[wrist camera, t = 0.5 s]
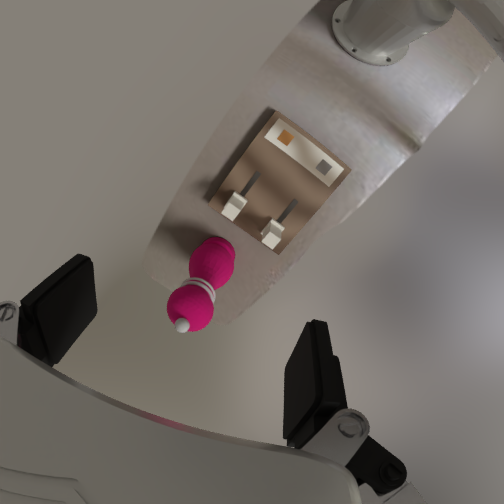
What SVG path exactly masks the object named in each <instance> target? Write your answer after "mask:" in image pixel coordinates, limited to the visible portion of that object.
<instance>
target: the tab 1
mask: <svg viewBox="0 0 504 504" xmlns="http://www.w3.org/2000/svg"><path fill="white" fill-rule="evenodd" d="M247 201H248V200H247V199H246V198H244V197H243V196H241V195H240V194H238V193H237V192H236V191H235V192H234V193H233V195H232V196H231V198H230V199H229V200H228V202H227V203H226V205H225V206H224V210H223V211H222V213H221V214H223V215H224V216H226V217H227V218H229V219H230V220H231V221H233V220H234V219H235V218H236V216H237V215H238V214H239V212H240V211H241V209H242V208H243V207H244V205H245V204H246V203H247Z"/></svg>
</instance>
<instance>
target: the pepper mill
mask: <svg viewBox="0 0 504 504" xmlns="http://www.w3.org/2000/svg"><path fill="white" fill-rule="evenodd" d="M234 259H235V251H234V248H233V247H232V245H231V244H230V243H229V242H228V241H227V240H225V239H223V238H219V237H212V238H209V239H207V240H205V241H204V242H203V244H202V245H201V246H199V247H198V248H197V249H195V251H194V252H193V254H192V256H191V258H190V261H189V273H190V278H188V279H186V280H185V281H184V282H183V283H182V285H181V286H180V288H178V289H176V290H175V291H174V292H173V293H172V294H171V295H170V297H169V300H168V303H167V313H168V316H169V318H170V320H171V321H172V322H173V324H174V325H175V328H176V330H178V332H182V333H184V332H186V331H192V332H193V331H198V330H201V329H202V328H204V327H206V325H208V323H209V322H210V321H211V319H212V316H213V310H214V307H213V303H214V300H215V290H216V289H218V288H219V287H221V286H223V285H224V284H225V283H226V282H227V281H228V280H229V279H230V277H231V275H232V273H233V270H234Z"/></svg>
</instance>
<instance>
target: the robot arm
mask: <svg viewBox="0 0 504 504" xmlns="http://www.w3.org/2000/svg"><path fill="white" fill-rule="evenodd" d="M455 7H456V8H457V9H458V10H459V11H460V12H461V13H462V14H463V15H464V16H465V17H466V18H467V19H468V20H469V21H470V22H471V23H472V24H473V25H474V26H475V28H476V29H477V30H478V31H479V32H480V33H481V34H482V36H483V37H484V38H485V39H486V40H487V42H488V43H489V44H490V45H491V47H492V48H493V49H494V50H495V51H496V53H497V54H498V55H499V57H500V58H501V59H502V60H503V62H504V0H347V1H345V2H343V3H341V4H340V5H339V6H338V7H337V8H336V10H335V12H334V14H333V17H332V29H333V33H334V35H335V37H336V39H337V41H338V42H339V44H340V45H341V46H342V47H343V48H344V50H345V51H346V52H348V53H349V54H350V55H351V56H353V57H355V58H356V59H358V60H360V61H362V62H364V63H367V64H371V65H375V66H388V65H391V64H394V63H396V62H398V61H400V60H401V59H403V57H404V56H405V55H406V53H407V51H408V49H409V44H410V43H411V42H413V41H415V40H417V39H419V38H420V37H422V36H424V35H426V34H428V33H430V32H432V31H434V30H436V29H438V28H439V27H441V26H443V25H445V24H446V23H447V22H448V21H449V20H450V19H451V17H452V15H453V12H454V9H455ZM336 21H337V22H338V23H337V22H336ZM352 50H354V52H352ZM386 60H388V62H387V61H386ZM20 302H21V306H20V307H18V305H17V304H16V303H15V302H12V301H4V302H1V303H0V504H427V503H426V501H424V499H423V498H422V496H421V495H420V494H419V492H418V491H417V489H416V488H415V487H414V485H413V484H412V483H411V482H410V483H407V482H406V477H407V471H406V467H405V466H404V464H403V463H402V462H401V461H400V460H399V459H398V458H397V457H395V456H394V455H392V454H391V453H390V452H388V450H386V449H385V448H384V447H382V446H381V445H380V444H379V443H377V442H376V441H375V440H374V439H372V438H371V437H370V436H369V435H368V434H369V430H370V426H369V422H368V420H367V419H366V417H365V416H364V415H363V414H362V413H361V412H359V411H357V410H354V409H348V407H347V401H346V395H345V389H344V383H343V378H342V372H341V367H340V362H339V358H338V357H337V356H335V355H333V351H332V346H331V341H330V335H329V330H328V325H327V322H324V321H319V320H315V319H313V320H312V321H311V322H307V323H306V325H305V327H304V329H303V331H302V333H301V335H300V338H299V340H298V342H297V344H296V346H295V348H294V350H293V352H292V354H291V356H290V358H289V360H288V362H287V364H286V367H285V373H284V374H285V375H284V376H285V378H284V419H283V438H284V439H287V446H288V447H285V446H279V445H274V444H269V443H263V442H256V441H251V440H246V439H241V438H236V437H232V436H227V435H223V434H219V433H214V432H210V431H206V430H202V429H198V428H194V427H191V426H187V425H184V424H181V423H178V422H174V421H171V420H168V419H165V418H162V417H159V416H156V415H153V414H151V413H148V412H145V411H142V410H140V409H137V408H135V407H131V406H129V405H127V404H124V403H122V402H120V401H117V400H115V399H113V398H110V397H108V396H106V395H104V394H101V393H100V392H97V391H95V390H93V389H91V388H89V387H87V386H85V385H83V384H81V383H79V382H77V381H75V380H73V379H71V378H69V377H68V376H66V375H64V374H62V373H61V372H59V371H57V370H55V369H54V368H52V367H53V365H54V364H57V363H59V361H60V360H61V359H62V357H63V356H64V355H65V353H66V352H67V351H68V350H69V348H70V347H71V346H72V344H73V343H74V342H75V341H76V339H77V338H78V337H79V336H80V334H81V333H82V332H83V331H84V329H85V328H86V327H87V326H88V325H89V323H90V322H91V321H92V320H93V319H94V317H95V316H96V314H97V302H96V292H95V283H94V268H93V262H92V261H91V259H90V258H89V257H87V256H84V255H82V254H77V255H75V256H74V257H73V258H71V259H70V260H69V261H68V262H66V263H65V264H64V265H62V266H61V267H60V268H59V269H57V270H56V271H55V272H54V273H52V274H51V275H50V276H49V277H47V278H46V279H45V280H44V281H43V282H41V283H40V284H39V285H38V286H37V287H35V288H34V289H33V290H32V291H31V292H30V293H28V294H27V295H26V296H25V297H24V298H23V299H22V300H21V301H20ZM291 447H295V448H291Z"/></svg>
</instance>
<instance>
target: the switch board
mask: <svg viewBox="0 0 504 504" xmlns="http://www.w3.org/2000/svg"><path fill="white" fill-rule="evenodd" d="M350 172H351V169H350V168H349V167H348V166H347V165H346V164H345V163H343V162H342V161H341V160H340V159H339V158H338V157H336V156H335V155H334V154H333V153H332V152H330V151H329V150H328V149H327V148H326V147H324V146H323V145H322V144H321V143H319V142H318V141H317V140H316V139H314V138H313V137H312V136H310V135H309V134H308V133H307V132H305V131H304V130H303V129H301V128H300V127H299V126H297V125H296V124H295V123H293V122H292V121H291V120H289V119H288V118H286V117H285V116H284V115H282V114H281V113H279V112H278V111H275V113H274V114H273V115H272V116H271V118H270V119H269V120H268V122H267V123H266V124H265V125H264V127H263V128H262V129H261V131H260V132H259V133H258V135H257V136H256V137H255V139H254V140H253V141H252V143H251V144H250V145H249V147H248V148H247V149H246V151H245V152H244V154H243V155H242V156H241V158H240V159H239V160H238V162H237V163H236V165H235V166H234V167H233V169H232V170H231V172H230V173H229V175H228V176H227V177H226V179H225V180H224V182H223V183H222V185H221V186H220V187H219V189H218V190H217V192H216V193H215V195H214V196H213V198H212V199H211V201H210V202H209V204H208V205H209V206H210V207H211V208H213V209H214V210H216V211H217V212H219V213H220V214H221V213H222V211H223V210H224V206H225V205H226V203H227V202H228V200H229V199H230V198H231V196H232V195H233V193H234V192H235V191H236V192H237V193H238V194H240V195H241V196H243V197H244V198H246V199H247V200H248V201H247V203H246V204H245V205H244V207H243V208H242V209H241V211H240V212H239V214H238V215H237V216H236V218H235V219H234V220H233V221H231V220H230V219H229V218H227V217H226V216H224V215H223V214H221V215H223V216H224V217H226V218H227V219H229V220H230V221H231V222H233V223H234V224H236V225H237V226H239V227H240V228H241V229H243V230H244V231H246V232H247V233H248V234H250V235H251V236H253V237H254V238H256V239H257V240H258V241H260V242H261V241H262V236H263V235H262V234H261V231H262V230H263V229H264V228H265V226H266V225H267V224H268V223H269V221H270V220H271V219H272V218H273V219H275V220H276V221H277V222H279V223H280V224H281V225H283V226H284V227H285V229H284V230H283V231H282V232H281V240H280V242H279V243H278V244H277V245H276V246H275V247H274V248H273V250H272V249H271V248H270V247H268V246H267V245H265V244H264V243H263V242H261V243H263V244H264V245H265V246H267V247H268V248H270V249H271V250H272V251H274V252H275V253H277V254H278V255H279V254H280V253H281V252H282V251H283V249H284V248H285V247H286V246H287V245H288V244H289V243H290V241H291V240H292V239H293V238H294V237H295V236H296V235H297V233H298V232H299V231H300V230H301V229H302V228H303V227H304V225H305V224H306V223H307V222H308V221H309V220H310V218H311V217H312V216H313V215H314V214H315V213H316V212H317V210H318V209H319V208H320V207H321V206H322V205H323V203H324V202H325V201H326V200H327V199H328V198H329V196H330V195H331V194H332V193H333V192H334V190H335V189H336V188H337V187H338V186H339V185H340V183H341V182H342V181H343V180H344V179H345V177H346V176H347V175H348V174H349V173H350Z"/></svg>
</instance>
